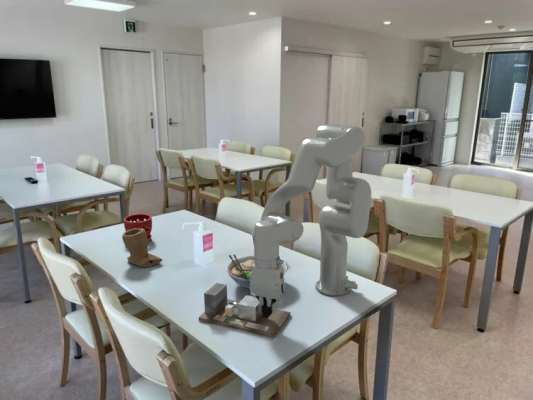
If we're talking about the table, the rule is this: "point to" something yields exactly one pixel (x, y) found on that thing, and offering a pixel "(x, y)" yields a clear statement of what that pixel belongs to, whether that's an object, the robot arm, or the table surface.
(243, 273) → the ramen bowl
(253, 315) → the gauge plunger
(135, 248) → the brown boot-shaped piece
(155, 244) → the table surface
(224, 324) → the bench
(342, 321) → the table surface
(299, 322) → the table surface
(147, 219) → the plant pot
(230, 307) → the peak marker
